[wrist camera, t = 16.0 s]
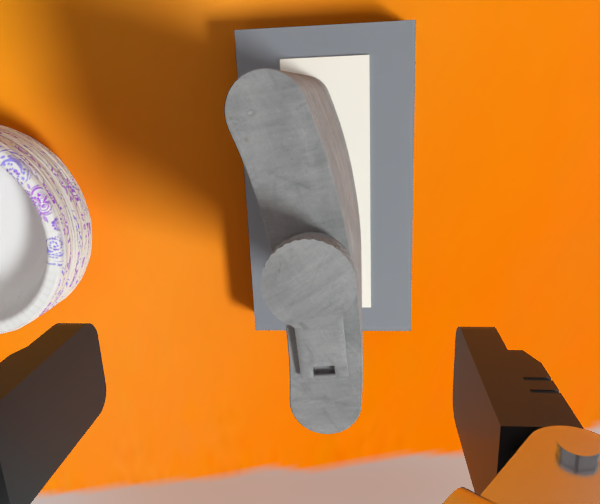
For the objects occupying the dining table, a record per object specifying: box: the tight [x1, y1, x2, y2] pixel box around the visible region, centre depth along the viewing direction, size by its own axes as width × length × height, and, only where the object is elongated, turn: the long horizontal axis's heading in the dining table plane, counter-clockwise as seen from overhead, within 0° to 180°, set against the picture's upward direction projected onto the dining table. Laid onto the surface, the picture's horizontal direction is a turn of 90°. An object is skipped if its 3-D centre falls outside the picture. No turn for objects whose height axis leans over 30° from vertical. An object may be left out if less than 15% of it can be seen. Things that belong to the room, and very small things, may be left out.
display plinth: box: [234, 20, 416, 331], centre depth 41 cm, size 22×12×3 cm, turn 2°
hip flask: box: [224, 68, 363, 434], centre depth 30 cm, size 16×4×20 cm, turn 11°
